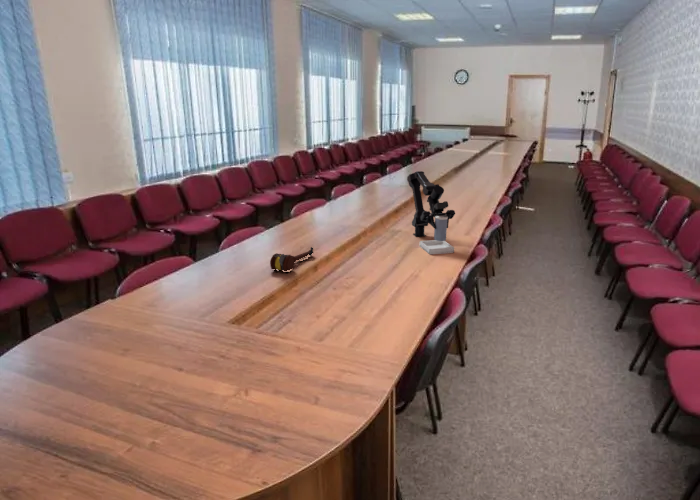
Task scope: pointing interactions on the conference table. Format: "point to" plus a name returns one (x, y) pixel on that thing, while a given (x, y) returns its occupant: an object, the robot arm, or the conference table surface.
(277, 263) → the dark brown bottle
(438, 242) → the tray
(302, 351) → the conference table surface
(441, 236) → the canister
